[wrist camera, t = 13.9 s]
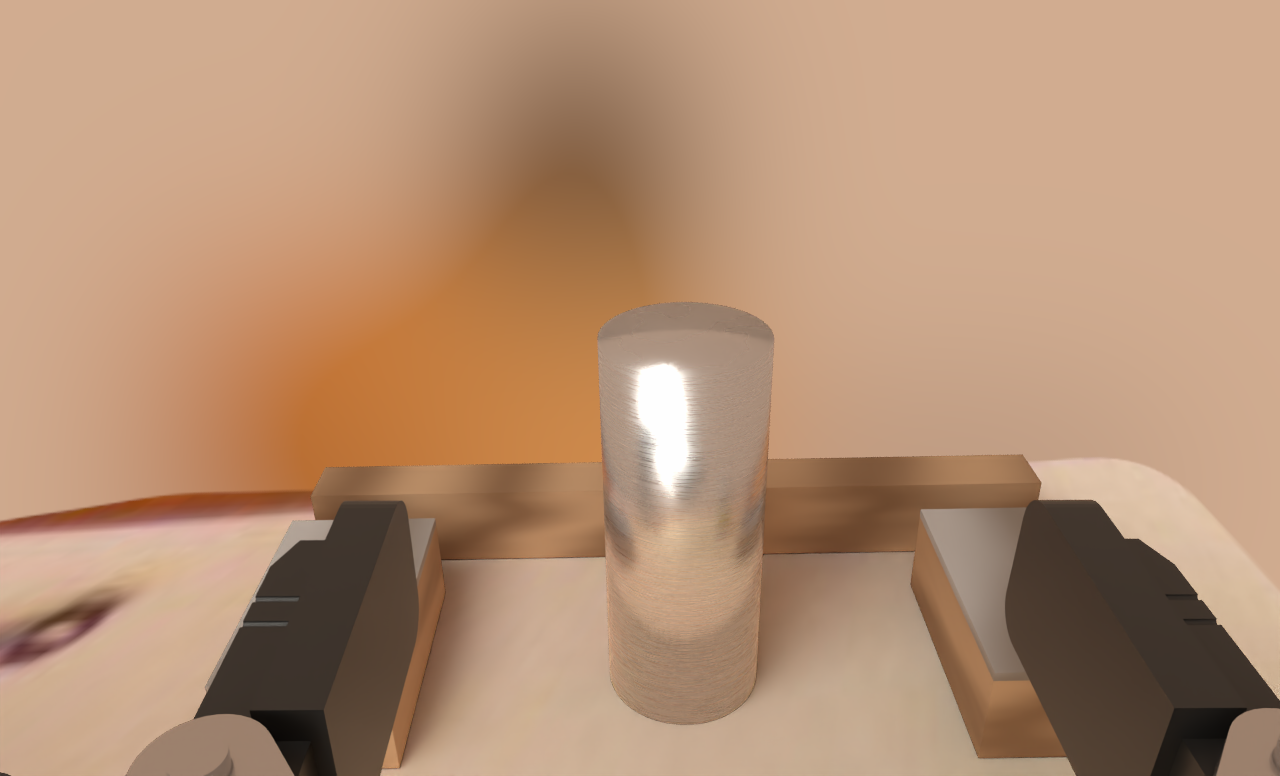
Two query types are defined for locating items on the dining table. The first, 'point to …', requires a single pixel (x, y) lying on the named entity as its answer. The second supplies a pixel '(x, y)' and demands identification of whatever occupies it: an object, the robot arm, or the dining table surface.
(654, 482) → the link pin
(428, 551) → the rail with metal-top blocks
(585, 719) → the dining table surface
